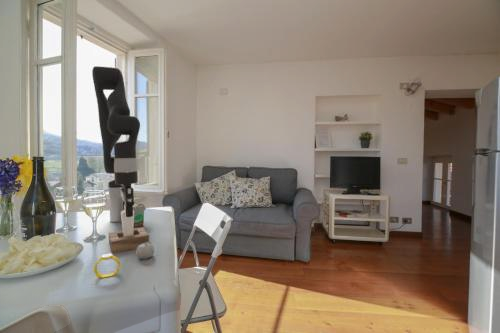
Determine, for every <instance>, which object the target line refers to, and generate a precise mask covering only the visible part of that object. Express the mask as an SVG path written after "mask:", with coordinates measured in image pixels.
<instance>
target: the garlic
mask: <svg viewBox="0 0 500 333" xmlns="http://www.w3.org/2000/svg"><path fill="white" fill-rule="evenodd" d="M135 253H136V256H137V257H138V258H140V260H141V259H143V260H148V259H149V258H151V257H152V256H153V255H154V253H155V247H154V245H153V244H152V243H151V241H149V242H145V243H143V244H141V245H139V246H138V247H137V248H136V250H135Z"/></svg>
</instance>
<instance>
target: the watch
mask: <svg viewBox="0 0 500 333" xmlns="http://www.w3.org/2000/svg"><path fill="white" fill-rule="evenodd" d="M111 259H112V260H114V261H115V262H116V263H117V268H116V270H115V271H114V272H112V273H107V274H102V273H100V272H99V271H98V269H97V268H98V263H100V262H101V261H107V260H111ZM120 266H121V263H120V259H119V258H118V257H117V256H115V255H114V253H104V254H102V255H101V257H100V258H99V259H97V261H96V263H95V264H94V268H93V272H94V274H95V276H96V277H98V278H99V279H104V278H111V277H114V276H116V274H118V273H119V270H120Z"/></svg>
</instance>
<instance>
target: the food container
mask: <svg viewBox="0 0 500 333" xmlns="http://www.w3.org/2000/svg"><path fill="white" fill-rule="evenodd" d="M122 211H123V209H122ZM133 211H134V228H140V227H143V228H144V224H145V223H144V222H145V221H144V220H145V219H144V218H145V211H146V206H145V204H143V203H138V205H137V206H133Z"/></svg>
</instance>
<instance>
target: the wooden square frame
mask: <svg viewBox="0 0 500 333" xmlns="http://www.w3.org/2000/svg"><path fill="white" fill-rule="evenodd" d="M145 242H150V235H149V233H148V232H147V231H146V229H145V228H144V226H143V227H140V228H134V232H133V235H132V236H127V237H123V229H122V230H117V231H110V232H108V243H109V248H110V254H116V253H117V254H118V253H121V252H125V251H131V250H135V249H137V247H138V246H139V245H141V244H143V243H145Z"/></svg>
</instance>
